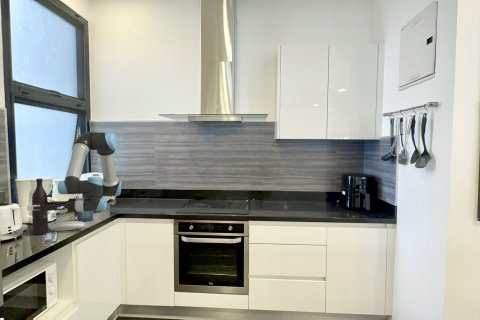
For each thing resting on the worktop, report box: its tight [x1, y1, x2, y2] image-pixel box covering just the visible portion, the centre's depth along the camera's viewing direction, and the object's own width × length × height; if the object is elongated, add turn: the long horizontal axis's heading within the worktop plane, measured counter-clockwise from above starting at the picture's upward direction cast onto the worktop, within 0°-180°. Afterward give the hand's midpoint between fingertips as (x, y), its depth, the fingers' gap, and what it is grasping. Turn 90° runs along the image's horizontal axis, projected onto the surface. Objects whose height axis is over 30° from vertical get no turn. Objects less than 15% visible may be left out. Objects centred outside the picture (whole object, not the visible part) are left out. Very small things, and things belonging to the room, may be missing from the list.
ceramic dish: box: [48, 220, 85, 232], centre depth 181 cm, size 18×18×1 cm
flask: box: [77, 211, 94, 223], centre depth 194 cm, size 9×3×11 cm, turn 135°
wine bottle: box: [31, 178, 49, 236], centre depth 166 cm, size 7×7×30 cm
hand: (30, 206), depth 165 cm, fingers closed on wine bottle, 7 cm apart
